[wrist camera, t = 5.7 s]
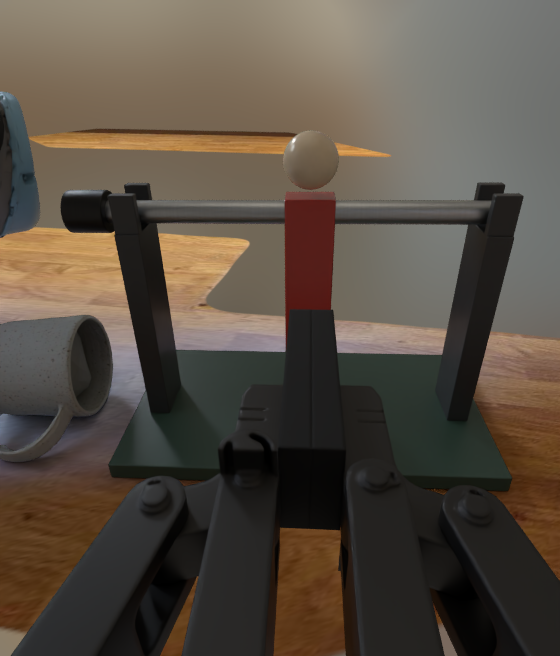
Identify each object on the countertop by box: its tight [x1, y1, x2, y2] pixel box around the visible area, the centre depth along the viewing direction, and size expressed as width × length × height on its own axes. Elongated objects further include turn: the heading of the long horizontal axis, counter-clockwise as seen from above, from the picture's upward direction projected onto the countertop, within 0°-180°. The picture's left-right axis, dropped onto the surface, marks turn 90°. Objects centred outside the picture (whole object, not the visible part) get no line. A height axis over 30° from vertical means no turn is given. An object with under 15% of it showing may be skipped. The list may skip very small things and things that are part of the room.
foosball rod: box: [61, 131, 492, 346], centre depth 30 cm, size 26×4×16 cm, turn 87°
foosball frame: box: [108, 183, 523, 491], centre depth 31 cm, size 26×14×17 cm, turn 87°
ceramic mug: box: [0, 315, 113, 462], centre depth 34 cm, size 11×8×8 cm
